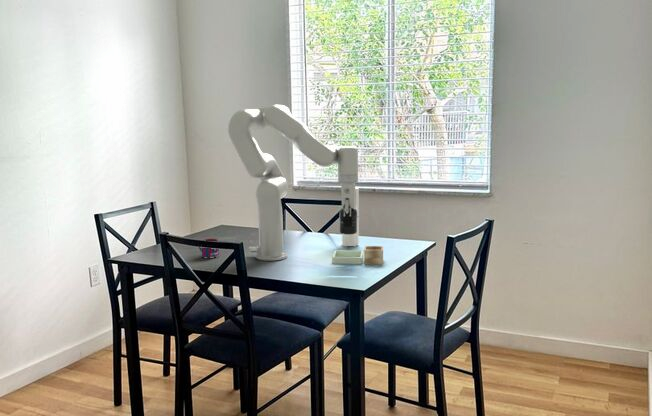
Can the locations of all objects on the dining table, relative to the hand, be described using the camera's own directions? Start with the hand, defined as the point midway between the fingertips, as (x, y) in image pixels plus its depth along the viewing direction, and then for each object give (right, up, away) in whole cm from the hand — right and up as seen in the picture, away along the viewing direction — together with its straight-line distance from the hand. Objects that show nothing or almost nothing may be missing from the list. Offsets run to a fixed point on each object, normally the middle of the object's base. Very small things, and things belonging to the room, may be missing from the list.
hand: (348, 224), depth 235 cm
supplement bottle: (0, -3, +1) cm, 3 cm away
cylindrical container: (+2, -10, +31) cm, 33 cm away
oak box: (+10, -15, -1) cm, 18 cm away
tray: (0, -14, +2) cm, 15 cm away
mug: (-56, -13, +12) cm, 59 cm away
